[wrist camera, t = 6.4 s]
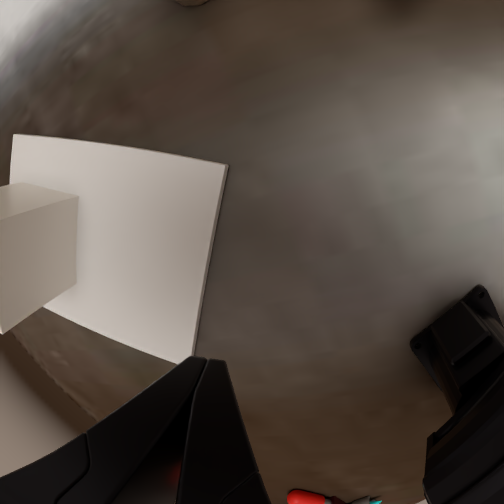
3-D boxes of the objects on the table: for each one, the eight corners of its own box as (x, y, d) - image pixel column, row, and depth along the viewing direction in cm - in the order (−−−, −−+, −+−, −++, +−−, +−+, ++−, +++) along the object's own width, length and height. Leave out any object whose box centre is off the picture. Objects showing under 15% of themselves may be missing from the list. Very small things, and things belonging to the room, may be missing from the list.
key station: (228, 164, 17) (160, 177, 9) (192, 361, 22) (144, 450, 14) (20, 133, 19) (-67, 143, 11) (20, 287, 24) (-46, 329, 15)
